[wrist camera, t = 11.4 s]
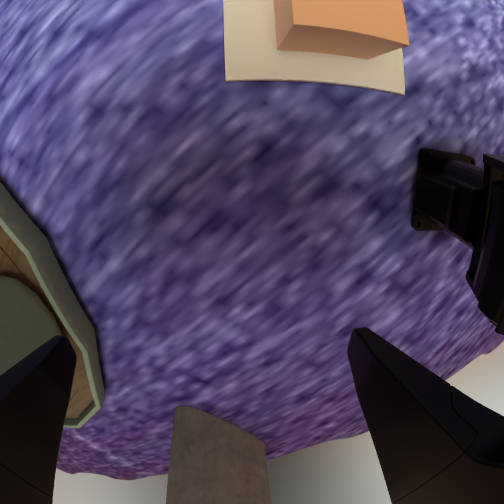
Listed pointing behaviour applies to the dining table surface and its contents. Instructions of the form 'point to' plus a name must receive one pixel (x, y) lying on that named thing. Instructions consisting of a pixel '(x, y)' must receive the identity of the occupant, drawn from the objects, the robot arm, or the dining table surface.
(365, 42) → the orange cube
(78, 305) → the tea set
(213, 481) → the hip flask
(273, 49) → the pad
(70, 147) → the dining table surface
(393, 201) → the dining table surface
